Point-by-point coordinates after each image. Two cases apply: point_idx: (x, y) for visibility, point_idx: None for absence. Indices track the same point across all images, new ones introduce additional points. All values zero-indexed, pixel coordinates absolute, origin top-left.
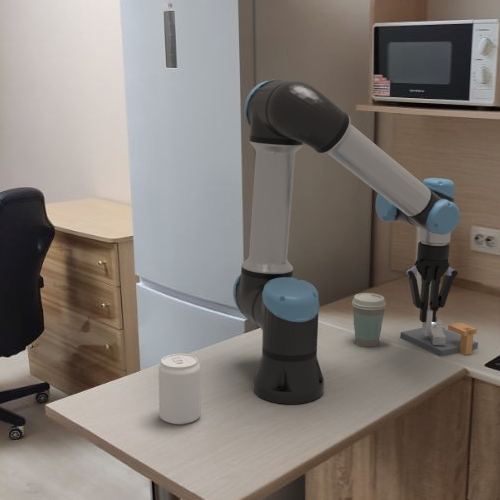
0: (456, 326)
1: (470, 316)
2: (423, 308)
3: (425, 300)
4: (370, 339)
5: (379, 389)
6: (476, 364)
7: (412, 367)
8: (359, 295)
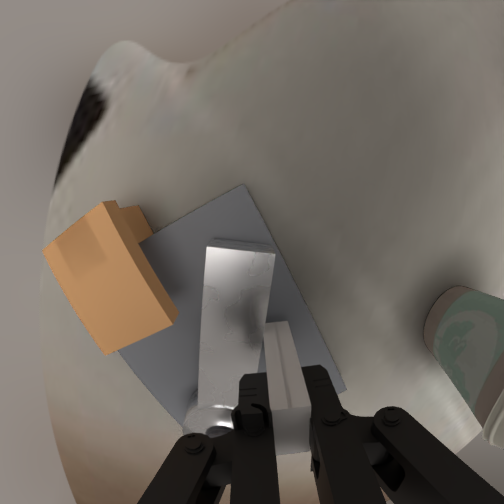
0: (130, 295)
1: (105, 473)
2: (348, 413)
3: (354, 463)
4: (472, 291)
5: (453, 6)
6: (129, 111)
7: (380, 89)
8: None
